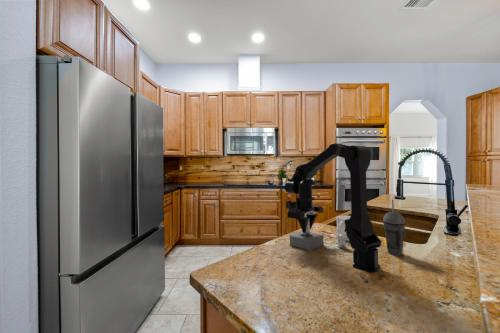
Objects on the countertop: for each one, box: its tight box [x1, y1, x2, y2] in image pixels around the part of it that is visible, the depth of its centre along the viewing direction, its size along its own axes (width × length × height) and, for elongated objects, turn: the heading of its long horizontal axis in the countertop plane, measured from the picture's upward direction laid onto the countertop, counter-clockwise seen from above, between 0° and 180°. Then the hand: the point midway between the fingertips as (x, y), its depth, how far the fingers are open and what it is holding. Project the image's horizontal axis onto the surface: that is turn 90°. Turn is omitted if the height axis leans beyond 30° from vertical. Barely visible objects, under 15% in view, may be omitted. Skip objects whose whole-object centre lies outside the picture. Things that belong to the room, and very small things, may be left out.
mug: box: [336, 215, 351, 242], centre depth 104 cm, size 12×9×9 cm
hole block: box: [289, 230, 324, 252], centre depth 97 cm, size 10×10×4 cm
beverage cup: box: [382, 198, 406, 257], centre depth 85 cm, size 7×7×20 cm
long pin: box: [303, 218, 311, 238], centre depth 97 cm, size 3×3×10 cm
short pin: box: [337, 234, 347, 250], centre depth 93 cm, size 3×3×5 cm
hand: (306, 231), depth 97 cm, fingers closed on long pin, 3 cm apart
